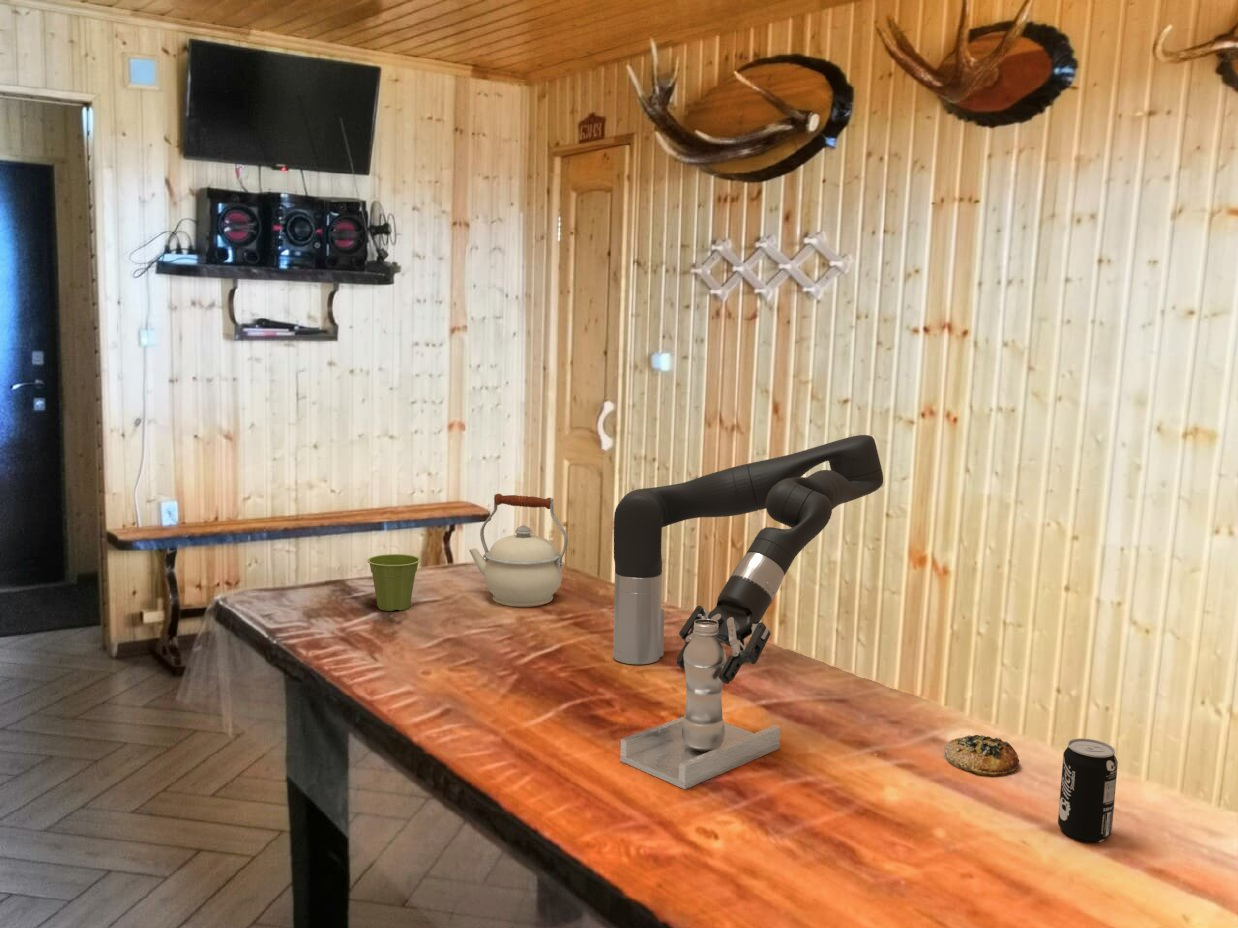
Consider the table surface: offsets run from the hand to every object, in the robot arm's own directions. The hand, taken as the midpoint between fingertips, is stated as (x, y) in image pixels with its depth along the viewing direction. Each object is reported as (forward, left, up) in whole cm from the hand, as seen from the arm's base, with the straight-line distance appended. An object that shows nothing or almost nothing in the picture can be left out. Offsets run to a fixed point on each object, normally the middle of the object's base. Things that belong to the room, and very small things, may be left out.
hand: (701, 673), depth 163 cm
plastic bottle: (-1, 0, -12) cm, 12 cm away
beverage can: (-20, +51, -13) cm, 56 cm away
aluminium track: (-1, 0, -13) cm, 13 cm away
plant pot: (-11, -102, -13) cm, 103 cm away
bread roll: (-31, +30, -14) cm, 45 cm away
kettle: (-37, -90, -13) cm, 98 cm away
